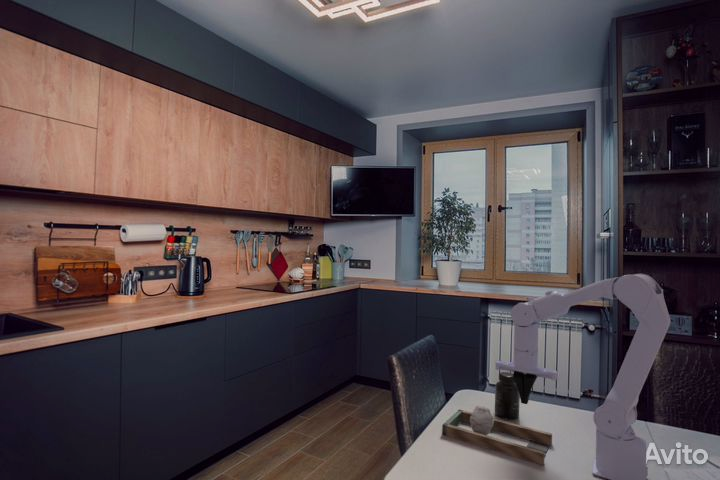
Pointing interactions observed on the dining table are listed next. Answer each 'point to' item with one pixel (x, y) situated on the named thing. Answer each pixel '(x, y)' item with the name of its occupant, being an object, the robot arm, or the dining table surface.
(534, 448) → the box
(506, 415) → the supplement bottle
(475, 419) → the white head sculpture
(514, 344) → the robot arm
